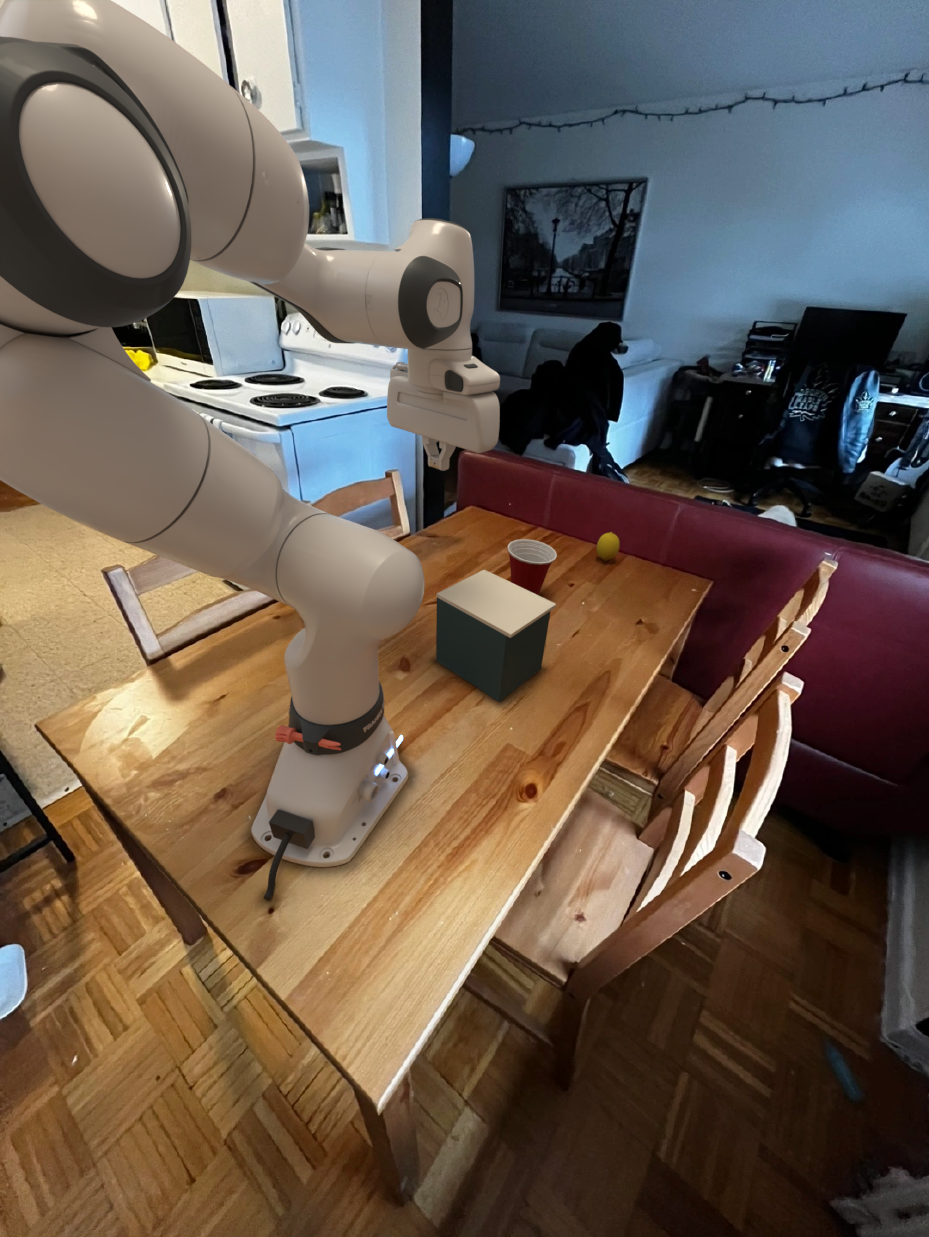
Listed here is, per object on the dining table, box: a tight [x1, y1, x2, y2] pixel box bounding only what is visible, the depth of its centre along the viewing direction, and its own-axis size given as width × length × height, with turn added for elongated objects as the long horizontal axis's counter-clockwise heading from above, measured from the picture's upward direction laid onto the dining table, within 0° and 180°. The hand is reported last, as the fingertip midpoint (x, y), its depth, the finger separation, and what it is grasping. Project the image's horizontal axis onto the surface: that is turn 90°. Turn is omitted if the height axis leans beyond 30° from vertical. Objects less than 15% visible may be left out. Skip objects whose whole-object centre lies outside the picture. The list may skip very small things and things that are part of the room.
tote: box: [435, 596, 552, 703], centre depth 89 cm, size 15×12×14 cm
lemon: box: [596, 531, 620, 562], centre depth 128 cm, size 6×6×8 cm
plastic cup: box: [506, 538, 558, 596], centre depth 110 cm, size 11×11×12 cm
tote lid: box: [436, 569, 557, 638], centre depth 85 cm, size 16×12×1 cm
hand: (438, 468), depth 77 cm, fingers closed
